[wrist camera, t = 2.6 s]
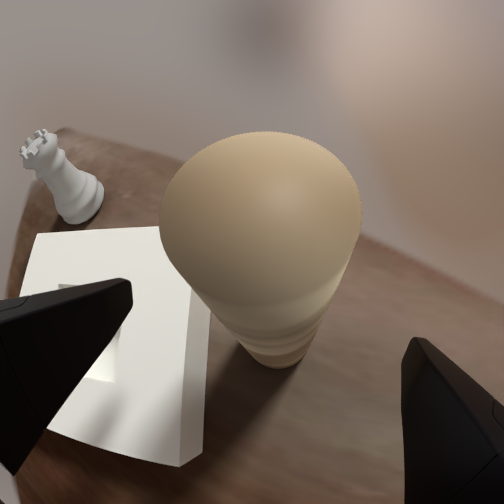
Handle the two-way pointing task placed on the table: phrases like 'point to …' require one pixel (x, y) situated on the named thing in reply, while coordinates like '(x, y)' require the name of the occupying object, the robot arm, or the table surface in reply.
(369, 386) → the table surface
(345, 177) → the peg
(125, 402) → the block
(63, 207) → the rook chess piece
